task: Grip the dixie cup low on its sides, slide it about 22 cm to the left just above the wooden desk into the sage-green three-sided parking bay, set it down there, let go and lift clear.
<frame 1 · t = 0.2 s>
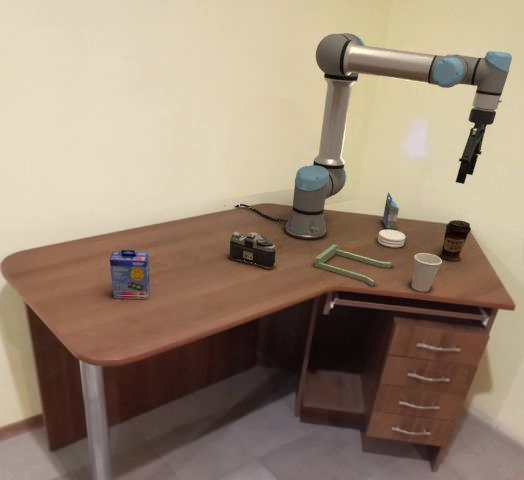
hand: (464, 178, 173), 28 cm above the table, tool pointing down, fingers open, 13 cm apart
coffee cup: (449, 258, 187), on the table
parking bay: (356, 268, 174), on the table
camera: (254, 260, 173), on the table
coaster: (390, 243, 195), on the table
ink cartridge box: (132, 295, 147), on the table
label tape box: (388, 225, 211), on the table
dixie cup: (420, 287, 165), on the table
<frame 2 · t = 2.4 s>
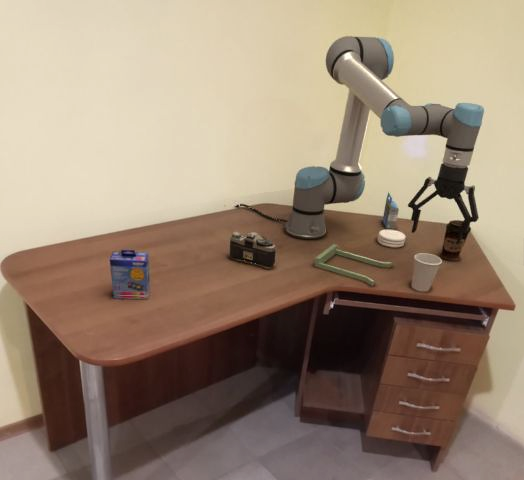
hand: (435, 236, 157), 17 cm above the table, tool pointing down, fingers open, 13 cm apart
nothing on the table moved.
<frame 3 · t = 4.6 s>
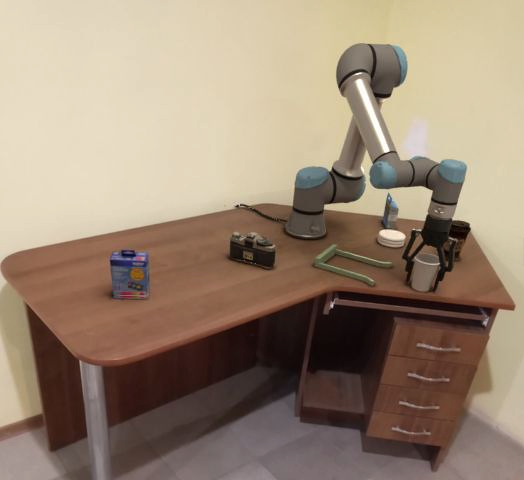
hand: (421, 285, 165), 1 cm above the table, tool pointing down, fingers closed on dixie cup, 8 cm apart
dixie cup: (420, 287, 165), on the table, touching gripper
everything else where it was.
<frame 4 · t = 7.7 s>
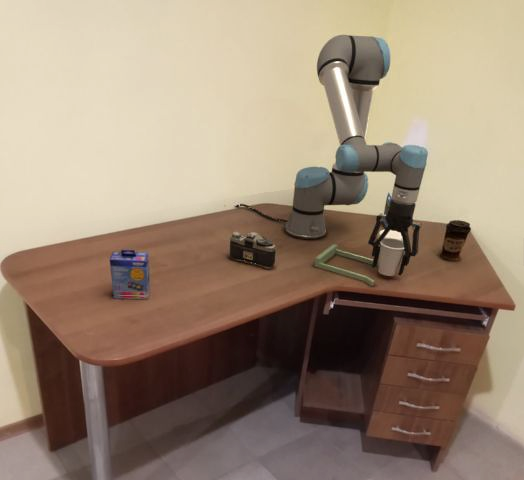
hand: (387, 269, 168), 3 cm above the table, tool pointing down, fingers closed on dixie cup, 8 cm apart
dixie cup: (386, 272, 169), point 2 cm above the table, touching gripper
everything else where it was.
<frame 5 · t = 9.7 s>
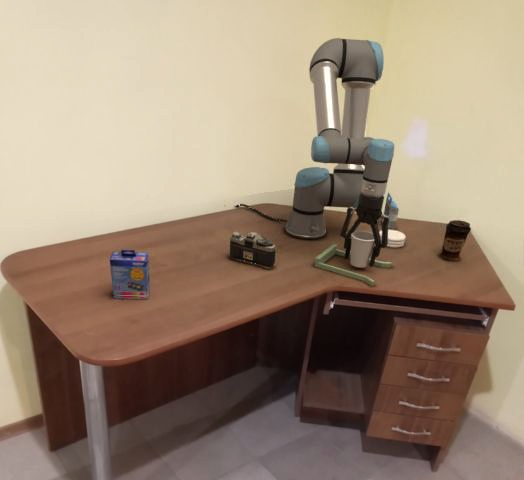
hand: (359, 261, 172), 3 cm above the table, tool pointing down, fingers closed on dixie cup, 8 cm apart
dixie cup: (358, 264, 173), point 2 cm above the table, touching gripper
everything else where it was.
when the fingers open (1 cm above the table, at t = 10.8 s): dixie cup stays where it is, on the table.
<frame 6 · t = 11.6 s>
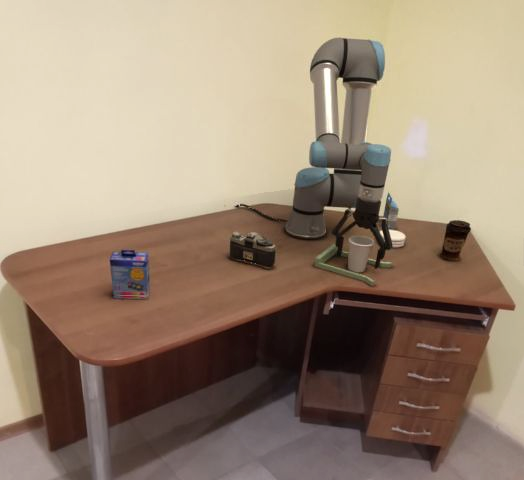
hand: (357, 261, 172), 2 cm above the table, tool pointing down, fingers open, 13 cm apart
dixie cup: (356, 269, 174), on the table
everything else where it was.
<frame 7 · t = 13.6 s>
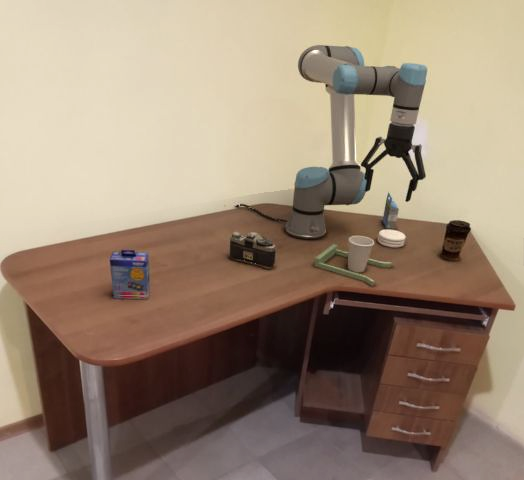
hand: (387, 195, 164), 24 cm above the table, tool pointing down, fingers open, 13 cm apart
nothing on the table moved.
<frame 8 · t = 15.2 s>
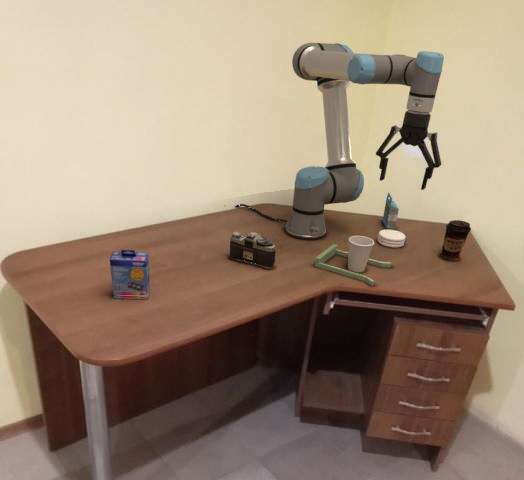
hand: (402, 184, 165), 27 cm above the table, tool pointing down, fingers open, 13 cm apart
nothing on the table moved.
at the end: dixie cup inside the target area on the parking bay (0.6 cm from its centre), point 0.0 cm above the parking bay's base; dixie cup moved 22.0 cm from its start; dixie cup tilted 0° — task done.
